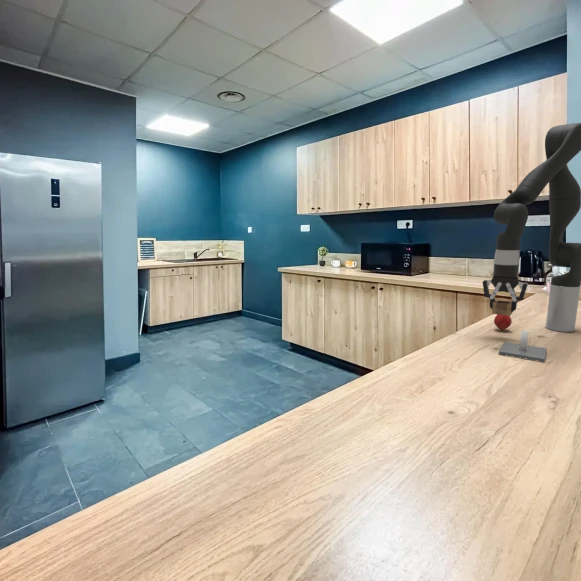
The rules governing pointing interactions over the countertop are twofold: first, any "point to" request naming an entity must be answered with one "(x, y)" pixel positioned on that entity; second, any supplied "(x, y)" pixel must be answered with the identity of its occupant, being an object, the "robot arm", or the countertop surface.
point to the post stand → (523, 349)
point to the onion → (502, 321)
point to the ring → (502, 307)
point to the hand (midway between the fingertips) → (502, 310)
